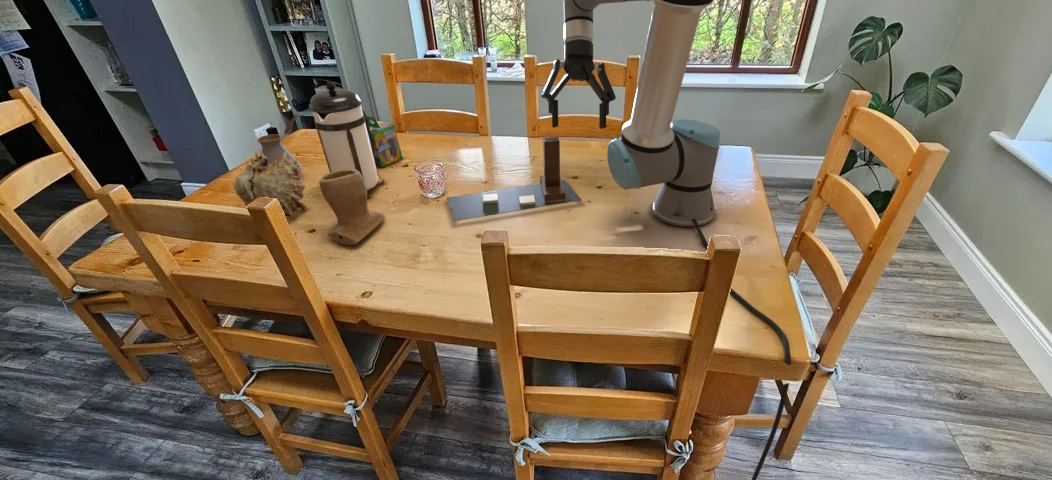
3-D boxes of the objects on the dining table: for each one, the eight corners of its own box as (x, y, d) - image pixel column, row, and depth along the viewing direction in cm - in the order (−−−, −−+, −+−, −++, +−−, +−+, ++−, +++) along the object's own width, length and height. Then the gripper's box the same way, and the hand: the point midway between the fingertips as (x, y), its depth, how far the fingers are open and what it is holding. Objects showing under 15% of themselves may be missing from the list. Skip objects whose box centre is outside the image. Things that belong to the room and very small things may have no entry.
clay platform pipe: (352, 214, 129) (336, 160, 120) (392, 219, 126) (379, 164, 117) (315, 243, 117) (295, 186, 108) (358, 250, 114) (341, 191, 105)
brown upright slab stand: (565, 201, 129) (565, 146, 120) (544, 203, 128) (543, 148, 120) (559, 182, 139) (558, 130, 130) (539, 184, 138) (537, 132, 129)
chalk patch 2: (535, 204, 128) (535, 201, 127) (520, 205, 127) (519, 203, 127) (533, 197, 131) (533, 195, 131) (518, 199, 131) (518, 196, 130)
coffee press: (395, 192, 139) (370, 82, 121) (337, 206, 132) (302, 92, 115) (379, 171, 151) (355, 69, 134) (325, 183, 145) (292, 78, 127)
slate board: (581, 205, 130) (581, 200, 129) (454, 226, 122) (454, 221, 121) (564, 184, 141) (564, 179, 140) (447, 202, 133) (446, 197, 132)
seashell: (297, 136, 125) (249, 142, 128) (253, 166, 111) (200, 173, 114) (328, 197, 135) (283, 201, 139) (292, 232, 121) (243, 236, 125)
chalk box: (403, 158, 159) (393, 113, 151) (381, 168, 153) (370, 121, 144) (383, 153, 163) (373, 109, 155) (362, 163, 157) (350, 117, 149)
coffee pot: (291, 188, 143) (272, 138, 134) (255, 186, 144) (235, 137, 135) (328, 160, 160) (314, 114, 151) (296, 158, 161) (280, 113, 152)
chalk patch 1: (498, 202, 129) (497, 199, 129) (483, 203, 129) (482, 201, 128) (497, 195, 132) (497, 193, 132) (482, 197, 132) (482, 194, 132)
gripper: (615, 50, 133) (615, 130, 137) (528, 42, 125) (530, 128, 129) (628, 42, 126) (628, 126, 130) (536, 33, 118) (538, 124, 122)
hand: (579, 127), depth 129 cm, fingers open, 13 cm apart
